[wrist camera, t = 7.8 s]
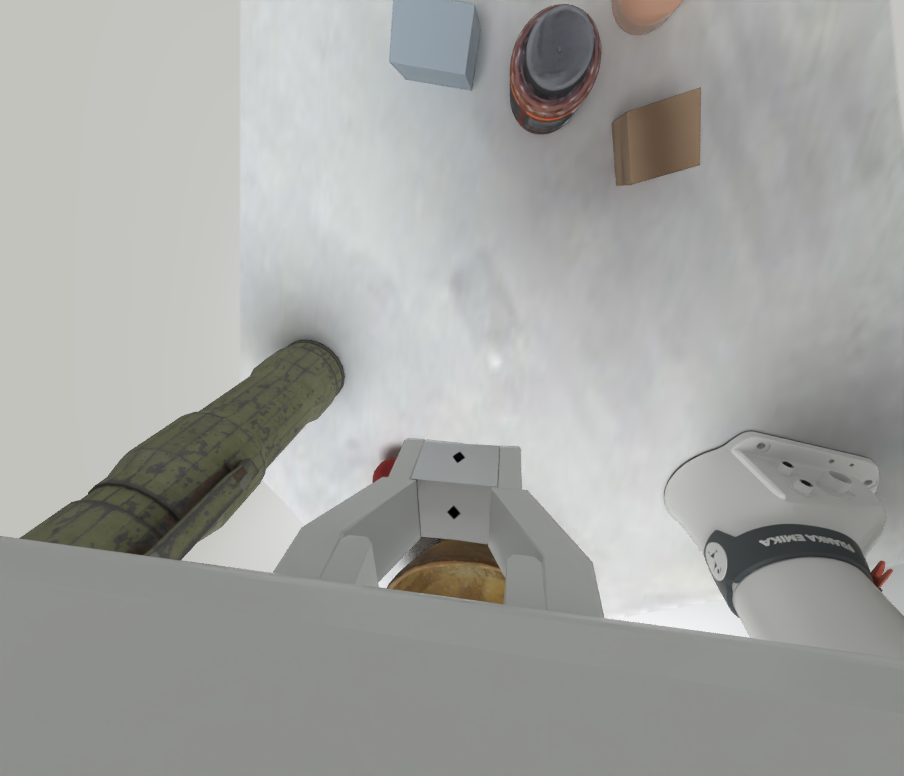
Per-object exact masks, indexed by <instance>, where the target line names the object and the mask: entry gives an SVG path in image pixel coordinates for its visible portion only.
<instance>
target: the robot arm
mask: <svg viewBox="0 0 904 776" xmlns="http://www.w3.org/2000/svg"><path fill="white" fill-rule="evenodd" d="M760 443H761V444H760ZM758 444H760V445H758ZM499 453H500V454H499ZM498 471H499V472H498ZM878 484H879V470H878V466H877V465H876V464H875V463H874V462H873V461H872V460H871V459H868V458H865V457H861V456H857V455H852V454H848V453H844V452H839V451H835V450H831V449H826V448H822V447H818V446H814V445H809V444H805V443H801V442H796V441H792V440H788V439H783V438H779V437H775V436H770V435H766V434H762V433H757V432H752V431H750V432H745V433H742V434H740V435H738V436H737V437H735V438H734V439H733V440H731V441H730V442H728V443H727V444H726V445H724V446H723V447H721V448H718V449H716V450H713V451H710V452H707V453H705V454H702V455H700V456H698V457H696V458H694V459H692V460H690V461H689V462H687V463H686V464H684V465H683V466H682V467H681V468H680V469H679V470H677V471H676V473H675V474H674V475H673V476H672V477H671V479H670V481H669V482H668V484H667V487H666V490H665V495H664V500H665V505H666V508H667V510H668V512H669V514H670V515H671V516H672V517H673V518H674V519H675V520H676V521H677V522H678V523H679V524H680V525H681V526H682V527H683V529H684V530H685V531H686V532H687V533H688V535H689V536H690V537H691V538H692V540H693V541H694V542H695V544H696V545H697V546H698V548H699V549H700V551H701V552H702V554H703V555H704V557H705V560H706V562H707V565H708V567H709V570H710V572H711V574H712V576H713V579H714V580H715V582H716V584H717V586H718V588H719V590H720V592H721V593H722V595H723V597H724V599H725V600H726V602H727V604H728V606H729V607H730V609H731V611H732V612H733V613H734V614H735V615H736V616H737V617H738V618H740V619H741V621H742V623H743V625H744V627H745V629H746V631H747V633H748V635H749V636H750V638H746V637H739V636H732V635H725V634H716V633H710V632H702V631H695V630H688V629H680V628H672V627H666V626H658V625H651V624H644V623H636V622H629V621H621V620H614V619H607V618H604V614H603V609H602V605H601V600H600V595H599V591H598V586H597V581H596V576H595V572H594V567H593V562H592V561H591V560H590V559H589V558H588V557H587V556H586V555H585V553H584V552H583V551H582V550H581V549H580V548H579V547H578V546H577V545H576V543H575V542H574V541H573V540H572V539H571V538H570V537H569V536H568V535H567V533H566V532H565V531H564V530H563V529H562V528H561V527H560V526H559V525H558V523H557V522H556V521H555V520H554V519H553V518H552V517H551V516H550V515H549V513H548V512H547V511H546V510H545V509H544V508H543V507H542V506H541V505H540V503H539V502H538V501H537V500H536V499H535V498H534V497H533V496H532V495H531V493H530V492H529V491H528V490H522V479H521V448H520V447H519V446H501V445H500V446H492V445H478V444H464V443H457V442H447V441H437V440H427V439H426V440H425V439H415V438H407V439H406V440H405V441H404V443H403V445H402V447H401V450H400V452H399V454H398V456H397V459H396V461H395V463H394V465H393V468H392V470H391V472H390V474H389V476H388V477H382V478H380V479H378V480H377V481H375V482H374V483H372V484H371V485H369V486H367V487H366V488H364V489H363V490H361V491H359V492H358V493H356V494H355V495H353V496H351V497H350V498H348V499H347V500H345V501H343V502H342V503H340V504H339V505H337V506H335V507H334V508H332V509H331V510H329V511H327V512H326V513H324V514H323V515H321V516H319V517H318V518H316V519H315V520H313V521H312V522H310V523H308V524H307V525H305V526H304V527H302V528H301V530H300V531H299V533H298V534H297V536H296V537H295V539H294V540H293V542H292V544H291V545H290V547H289V549H288V550H287V551H286V553H285V555H284V556H283V558H282V559H281V561H280V562H279V564H278V565H277V567H276V569H275V570H274V572H273V573H269V572H261V571H254V570H247V569H239V568H232V567H225V566H217V565H210V564H203V563H195V562H188V561H181V560H173V559H166V558H159V557H151V556H144V555H137V554H129V553H122V552H114V551H107V550H100V549H92V548H85V547H78V546H70V545H63V544H56V543H48V542H41V541H33V540H26V539H19V538H11V537H4V536H0V776H904V616H903V615H902V614H901V613H900V612H899V611H898V609H897V608H896V607H894V605H893V604H892V603H891V602H890V601H889V600H888V599H887V598H886V597H885V596H884V595H883V593H882V590H881V588H880V587H881V586H882V585H883V583H884V582H885V581H886V580H887V579H888V577H889V576H890V574H891V573H892V572H893V570H892V569H889V570H887V571H886V572H885V573H884V574H883V575H882V573H883V572H884V568H885V562H884V561H880V562H879V563H878V564H877V565H876V567H875V568H874V569H873V570H872V572H871V573H870V570H869V567H868V564H867V562H866V560H865V557H866V555H867V554H868V553H869V551H870V550H871V549H872V547H873V546H874V544H875V543H876V542H877V540H878V539H879V537H880V535H881V533H882V531H883V529H884V526H885V522H886V513H885V509H884V506H883V504H882V503H881V501H880V500H879V499H878V498H877V496H876V495H875V493H876V491H877V488H878ZM420 537H430V538H441V539H453V540H460V541H467V542H474V543H481V544H488V547H489V548H490V550H491V552H492V554H493V556H494V558H495V560H496V562H497V564H498V565H499V567H500V569H501V571H502V573H503V575H504V577H505V591H504V602H503V604H497V603H490V602H482V601H475V600H468V599H460V598H453V597H446V596H438V595H431V594H423V593H416V592H409V591H401V590H394V589H387V588H379V587H378V582H379V581H380V580H381V579H382V578H383V577H384V576H385V575H386V574H387V573H388V572H389V571H390V570H391V569H392V568H393V567H394V566H395V565H396V563H397V562H398V561H399V560H400V559H401V558H402V557H403V556H404V555H405V554H406V553H407V552H408V551H409V550H410V549H411V548H412V547H413V546H414V545H415V544H416V543H417V542H418V541H419V540H420Z"/></svg>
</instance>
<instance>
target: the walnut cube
mask: <svg viewBox="0 0 904 776" xmlns="http://www.w3.org/2000/svg"><path fill="white" fill-rule="evenodd" d="M700 120H701V87H700V88H697V89H694V90H691V91H688V92H685V93H682V94H679V95H676V96H673V97H670V98H667V99H664V100H661V101H658V102H655V103H652V104H649V105H646V106H643V107H640V108H637V109H634V110H631V111H628V112H626V113H625V114H623V115H622V116H621V117H619V118H618V119H617V120H615V121H614V122H612V133H613V147H614V160H615V174H616V186H621V185H632V184H635V183H639V182H642V181H646V180H649V179H653V178H656V177H660V176H663V175H667V174H670V173H674V172H677V171H681V170H684V169H688V168H691V167H695V166H698V165H700Z"/></svg>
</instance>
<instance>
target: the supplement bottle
mask: <svg viewBox="0 0 904 776" xmlns="http://www.w3.org/2000/svg"><path fill="white" fill-rule="evenodd" d="M600 60H601V42H600V37H599V33H598V30H597V28H596V25H595V23H594V22H593V20H592V19H591V17H590V16H589V15H588V14H587V13H586V12H585V11H583V10H582V9H580V8H578V7H576V6H573V5H568V4H561V5H554V6H550V7H548V8H546V9H544V10H542V11H541V12H539V13H537V14H536V15H535V16H534V17H533V18H532V19H531V20H530V21H529V22H528V23H527V24H526V26H525V27H524V28H523V30H522V32H521V33H520V35H519V37H518V39H517V41H516V44H515V46H514V49H513V53H512V57H511V64H510V102H511V107H512V111H513V114H514V116H515V118H516V120H517V121H518V123H519V124H520V125H521V126H522V127H523V128H524V129H525V130H527V131H528V132H531V133H534V134H548V133H552V132H554V131H556V130H558V129H559V128H561V127H562V126H563V125H564V124H566V123H567V122H568V121H569V119H570V118H571V117H572V115H573V114H574V113H575V112H576V110H577V109H578V108H579V106H580V105H581V104H582V102H583V101H584V99H585V98H586V97H587V95H588V94H589V92H590V91H591V89H592V87H593V85H594V82H595V80H596V77H597V74H598V72H599V67H600Z"/></svg>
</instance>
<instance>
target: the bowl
mask: <svg viewBox="0 0 904 776" xmlns="http://www.w3.org/2000/svg"><path fill="white" fill-rule="evenodd" d="M387 589H394V590H401V591H409V592H416V593H423V594H431V595H438V596H446V597H453V598H460V599H468V600H475V601H482V602H490V603H497V604H503V602H504V591H505V577H504V575H503V573H502V571H501V569H500V567H499V565H498V564H497V562H496V560H495V558H494V556H493V554H492V552H491V550H490V548H489V547H488V544H481V543H474V542H467V541H460V540H453V539H444V540H443V541H441V542H440V543H438V544H436V545H434V546H432V547H430V548H428V549H426V550H425V551H424V552H422V553H421V554H420V555H419V556H418V557H416V558H415V559H414V560H413V561H412V562H410V563H409V564H408V565H407V566H406V567H405V568H403V569H402V570H401V571H400V572H399V573H398V574H397V575H396V576H395V578H394V579H393V580H392V581H391V582H390V583H389V585H388V587H387Z"/></svg>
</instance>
